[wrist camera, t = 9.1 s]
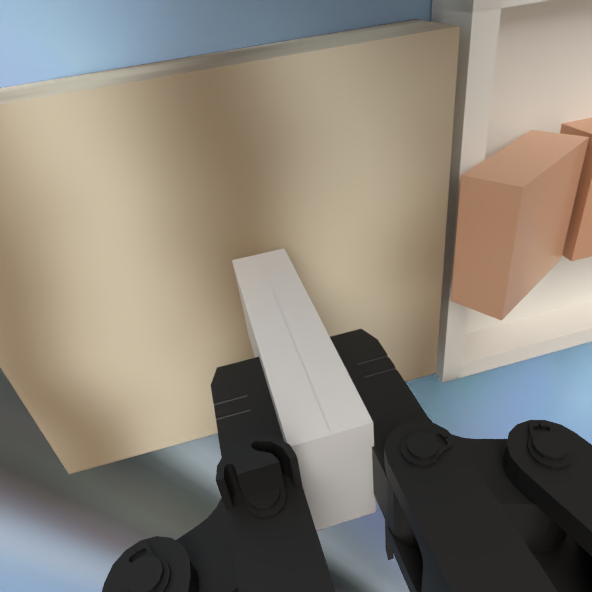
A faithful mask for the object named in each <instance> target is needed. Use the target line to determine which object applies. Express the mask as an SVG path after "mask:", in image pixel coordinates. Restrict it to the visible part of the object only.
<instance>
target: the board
mask: <svg viewBox="0 0 592 592" xmlns="http://www.w3.org/2000/svg"><path fill="white" fill-rule="evenodd" d="M459 35H460V26H456V25H450V24H443V23H437V22H430V21H423V20H417V19H415V20H409V21H403V22H397V23H390V24H384V25H378V26H372V27H366V28H360V29H354V30H348V31H342V32H336V33H330V34H324V35H318V36H312V37H306V38H300V39H294V40H288V41H282V42H276V43H270V44H264V45H258V46H252V47H246V48H240V49H234V50H228V51H222V52H216V53H210V54H203V55H197V56H191V57H185V58H179V59H173V60H167V61H161V62H155V63H149V64H143V65H137V66H131V67H125V68H119V69H113V70H107V71H101V72H95V73H89V74H83V75H77V76H71V77H65V78H59V79H53V80H47V81H41V82H35V83H29V84H22V85H16V86H10V87H4V88H0V367H1V369H2V370H3V372H4V374H5V375H6V377H7V378H8V380H9V381H10V383H11V384H12V386H13V388H14V389H15V391H16V392H17V394H18V395H19V397H20V399H21V400H22V402H23V403H24V405H25V406H26V408H27V409H28V411H29V413H30V414H31V416H32V417H33V419H34V420H35V422H36V423H37V425H38V427H39V428H40V430H41V431H42V433H43V434H44V436H45V438H46V439H47V441H48V442H49V444H50V445H51V447H52V448H53V450H54V452H55V453H56V455H57V456H58V458H59V459H60V461H61V463H62V464H63V466H64V467H65V469H66V470H67V472H68V473H69V474H71V473H75V472H78V471H82V470H86V469H89V468H93V467H96V466H100V465H104V464H107V463H111V462H115V461H118V460H122V459H126V458H129V457H133V456H136V455H140V454H144V453H147V452H151V451H155V450H158V449H162V448H166V447H169V446H173V445H177V444H180V443H184V442H187V441H191V440H195V439H198V438H202V437H206V436H209V435H213V434H217V433H218V430H217V423H216V417H215V411H214V404H213V398H212V391H211V383H212V380H213V377H214V374H215V372H216V369H217V367H221V366H225V365H229V364H232V363H236V362H240V361H244V360H248V359H252V358H255V356H254V352H253V349H252V345H251V342H250V338H249V334H248V330H247V325H246V321H245V316H244V312H243V308H242V303H241V299H240V294H239V290H238V285H237V281H236V276H235V272H234V267H233V263H232V260H235V259H240V258H244V257H248V256H253V255H257V254H261V253H266V252H270V251H274V250H279V249H283V248H284V249H285V251H286V253H287V255H288V257H289V258H290V260H291V262H292V264H293V266H294V268H295V270H296V272H297V274H298V276H299V278H300V280H301V282H302V284H303V286H304V288H305V290H306V292H307V294H308V296H309V298H310V300H311V301H312V303H313V305H314V307H315V309H316V311H317V313H318V315H319V317H320V319H321V321H322V323H323V325H324V327H325V329H326V331H327V333H328V335H329V337H331V336H335V335H338V334H342V333H346V332H350V331H354V330H358V329H363V330H364V331H366V332H367V333H369V334H370V335H372V336H373V337H375V338H376V339H378V341H379V342H380V344H381V345H382V347H383V348H384V350H385V351H386V353H387V355H388V358H390V359H391V361H392V362H393V364H394V365H395V368H396V370H398V372H399V373H400V375H401V376H402V378H403V379H404V381H405V382H406V381H409V380H413V379H417V378H420V377H424V376H428V375H431V374H435V373H436V364H437V350H438V336H439V321H440V307H441V293H442V278H443V264H444V250H445V235H446V221H447V207H448V192H449V178H450V164H451V149H452V135H453V121H454V106H455V92H456V78H457V63H458V49H459Z"/></svg>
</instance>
